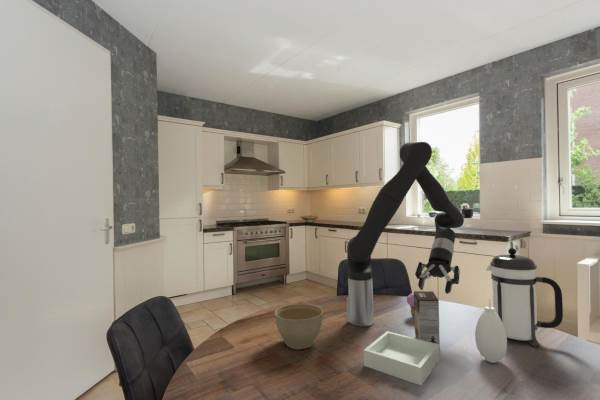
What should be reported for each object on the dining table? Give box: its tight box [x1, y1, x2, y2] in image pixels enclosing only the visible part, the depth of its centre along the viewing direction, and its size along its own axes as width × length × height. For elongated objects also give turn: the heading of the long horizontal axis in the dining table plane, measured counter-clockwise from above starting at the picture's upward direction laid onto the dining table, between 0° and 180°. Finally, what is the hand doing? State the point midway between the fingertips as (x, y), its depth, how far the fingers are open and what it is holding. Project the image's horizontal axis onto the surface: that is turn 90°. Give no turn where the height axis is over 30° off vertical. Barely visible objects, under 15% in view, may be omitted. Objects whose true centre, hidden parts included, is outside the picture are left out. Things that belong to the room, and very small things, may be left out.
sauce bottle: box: [474, 298, 508, 364], centre depth 89 cm, size 8×8×18 cm
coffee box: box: [413, 290, 441, 352], centre depth 101 cm, size 9×6×16 cm
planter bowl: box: [274, 303, 324, 350], centre depth 104 cm, size 16×16×11 cm
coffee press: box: [485, 247, 564, 348], centre depth 103 cm, size 17×16×30 cm
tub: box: [363, 330, 440, 386], centre depth 90 cm, size 16×16×4 cm
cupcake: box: [406, 291, 415, 319], centre depth 124 cm, size 9×9×10 cm
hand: (433, 290), depth 107 cm, fingers open, 8 cm apart
